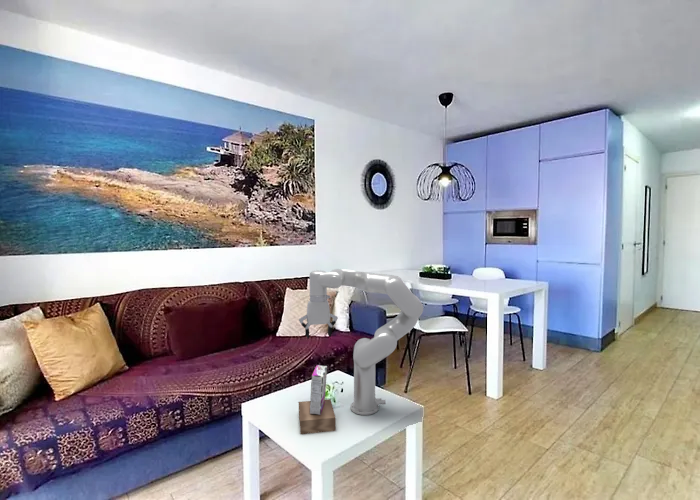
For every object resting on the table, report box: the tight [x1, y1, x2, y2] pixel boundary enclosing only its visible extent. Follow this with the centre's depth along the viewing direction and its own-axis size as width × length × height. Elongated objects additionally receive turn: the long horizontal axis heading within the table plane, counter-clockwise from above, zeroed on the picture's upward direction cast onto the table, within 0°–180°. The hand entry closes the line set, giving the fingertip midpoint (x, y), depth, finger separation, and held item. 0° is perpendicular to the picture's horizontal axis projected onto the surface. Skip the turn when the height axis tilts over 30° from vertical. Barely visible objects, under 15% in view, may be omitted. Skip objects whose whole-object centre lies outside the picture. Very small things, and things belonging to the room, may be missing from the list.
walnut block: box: [298, 398, 337, 435], centre depth 156 cm, size 14×16×6 cm
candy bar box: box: [309, 364, 328, 415], centre depth 156 cm, size 11×5×16 cm, turn 175°
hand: (318, 336), depth 166 cm, fingers open, 9 cm apart
